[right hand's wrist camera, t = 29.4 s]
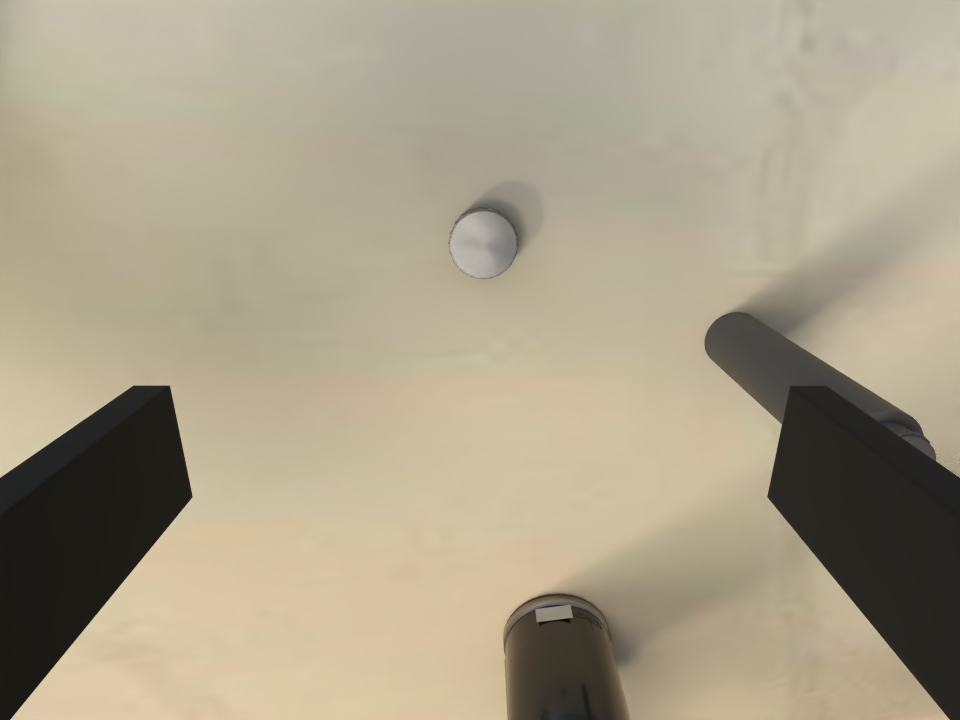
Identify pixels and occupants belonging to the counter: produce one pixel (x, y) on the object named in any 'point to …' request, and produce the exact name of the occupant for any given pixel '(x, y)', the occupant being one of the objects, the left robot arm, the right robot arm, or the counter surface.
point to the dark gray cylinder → (794, 374)
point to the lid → (483, 243)
